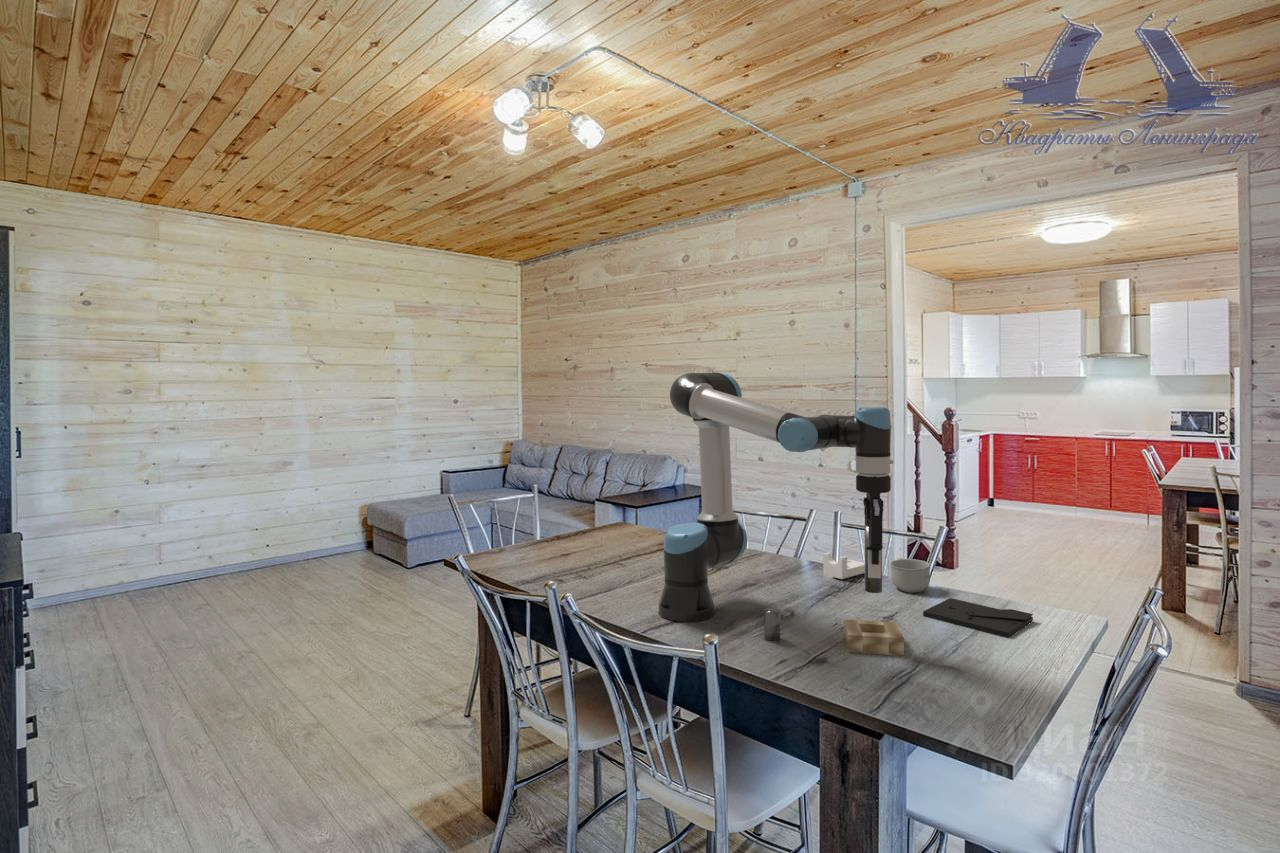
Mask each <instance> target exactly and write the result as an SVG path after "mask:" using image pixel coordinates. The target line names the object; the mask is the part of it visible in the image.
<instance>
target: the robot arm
mask: <svg viewBox="0 0 1280 853" xmlns="http://www.w3.org/2000/svg"><path fill="white" fill-rule="evenodd" d="M669 390H670V391H669V399H670V403H671V405H672V407H673V408H674V409H675V411H677V413H680V414H681V415H684V416H686V417H690V418H692V423H694V424H695V425H696V426H697V427H698V440H699V444H698V445H699V465H700V466H699V467H700V468H699V469H700V487H701V488H700V489H701V491H700V492H701V507H702V508H701V512H700V513H699V515H698V516H696V522H686V523H678V524H674V525H673V526H670V527H669V528H667V529H666V530H665V533H664V536H663V537H664V538H663V541H664V542H663V544H662V545H663V560H664V563H663V564H664V584H663V589H662V592H661V595H660V599H659V601H658V614H659V616H660V617H662V618H664V619H667V620H671V621H675V622H682V623H683V622H684V623H685V622H688V623H690V622H692V623H693V622H698V621H699V622H700V621H703V620H707V619H710V618H711V617H714V615H715V612H716V611H715V608H716V607H715V606H716V605H715V602H714V598H713V596H712V593H711V592H712V591H711V590H710V587H709V581H708V580H709V576H708V575H709V572H708V570H709V569H712V568H715V567H719V566H721V565H726V564H730V563H731V564H732V563H733V562H734V561H736V560H738V559H739V558H741V557H742V556H743V554H744V553H745V551H746V550H747V546H748V534H747V531H746V529H745V528H744V525H743V524H742V523H741V522H739V515H738V514H737V513H736V512H734V509H733V489H732V464H731V463H732V462H731V461H732V460H731V444H730V443H731V442H730V441H731V438H730V437H731V436H730V427H732V428H734V429H738V430H740V431H743V432H746V433H749V434H753V435H756V436H758V437H761V438H764V439H767V440H771V441H772V442H776V443H778V444H780V445H781V446H782V448H783V449H785V450H786V451H789V452H792V453H805V452H807V451H808V452H809V451H813V450H819V449H829V448H853V449H854V448H855V472H856V473H857V475H856V476H855V489H856V491H857V492H860V493H864V494H866V495H865V496H866V497H864V498H863V502H862V503H863V506H864V507H863V509H864V511H863V513H864V527H865V526H866V525H869V547H866V550H868V577H869V578H881V549H882V550H883V549H884V545H883V519H884V518H883V515H884V500H883V499H882V498H881V494H887V493H889V492H890V491H892V490H891V489H892V485H891V484H892V483H891V482H892V481H891V480H892V477H891V476H890V475H889V474H890V473H891V465H893V464H894V460H893V459H891V455H892V454H891V436H892V432H891V431H892V424H891V423H892V422H891V412H890V410H889V409H888V408H887V407H882V406H879V407H878V406H877V407H876V406H874V407H873V406H872V407H871V406H865V407H863V406H862V407H857V409H855V415H854V414H853V415H839V414H838V415H836V414H820V415H819V414H818V415H813V416H803V415H800V414H796V413H793V412H790V411H786V410H783V409H780V408H776V407H772V406H770V405H766V404H762V403H760V402H756V401H754V400H749V399H746V398H743V397H742V390H741V387H740V384H739V383H738V381H737V380H736V379H735V378H734V377H732V375H729V374H728V373H723V372H687V373H684V374H681V375H680V376H679V377H677V378H676V379H675V380H674V381H673V383H672V385H671V387H670V389H669ZM864 538H865V535H864Z"/></svg>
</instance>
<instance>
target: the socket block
mask: <svg viewBox="0 0 1280 853" xmlns="http://www.w3.org/2000/svg"><path fill="white" fill-rule="evenodd" d="M843 636H844V641H845V647H846V651H847V652H848V653H856V654H857V653H858V654H861V653H862V654H871V655H872V654H875V655H886V656H887V655H888V656H905V654H904V652H905V645H904V644H905V637H904V636H903V633H902V631H901V630H900V628H899V625H898V623H897V622H893V621H877V620H876V621H875V620H861V619H860V620H859V619H843Z"/></svg>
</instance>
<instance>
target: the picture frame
mask: <svg viewBox="0 0 1280 853" xmlns="http://www.w3.org/2000/svg"><path fill="white" fill-rule="evenodd" d="M1033 615H1034V614H1033V613H1030V612H1026V611H1021V610H1016V609H1012V608H1010V609H1009V608H1007V609H1006V608H1005V609H1003V608H1002V609H1000V608H996V607H991V606H987V605H983V604H978V603H974V602H970V601H969V602H968V601H965V600H961V599H956V598H951V597H950V598H947V599H945V600H943V601H941V602H939V603H937V604H935V605H933V606H931V607H929V608H927V609H925V610H923V611H922V617H923V618H924V617H925V618H928V619H932V620H937V621H941V622H944V623H948V624H951V625H956V626H958V627H959V626H960V627H963V628H967V629H970V630H975V631H979V632H983V633H986V634H990V635H994V636H998V637H1002V638H1005V639H1010V638H1011V637H1013V636H1014V635H1016V634H1017V633H1019V632H1020V631H1022V630H1023V629H1025V628H1026V627H1028V626H1029V625H1030V624H1029V623H1031V622H1032V621H1034V617H1033ZM1032 623H1033V622H1032ZM1032 623H1031V624H1032ZM1028 624H1029V625H1028ZM1027 625H1028V626H1027ZM1025 626H1026V627H1025ZM1024 627H1025V628H1024ZM1022 628H1023V629H1022ZM1021 629H1022V630H1021ZM1019 630H1020V631H1019ZM1018 631H1019V632H1018ZM1016 632H1017V633H1016ZM1015 633H1016V634H1015ZM1012 635H1013V636H1012ZM1009 637H1010V638H1009Z"/></svg>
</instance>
